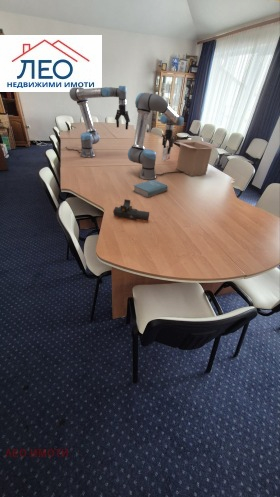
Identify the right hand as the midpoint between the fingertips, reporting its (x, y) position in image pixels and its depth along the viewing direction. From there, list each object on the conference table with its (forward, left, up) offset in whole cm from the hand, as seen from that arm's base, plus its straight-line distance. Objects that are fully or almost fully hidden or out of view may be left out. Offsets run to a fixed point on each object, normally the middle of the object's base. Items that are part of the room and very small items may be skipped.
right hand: (166, 153), depth 243 cm
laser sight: (+48, +129, -10) cm, 138 cm away
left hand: (+48, -13, +20) cm, 54 cm away
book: (+29, +84, -10) cm, 89 cm away
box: (-21, +29, -10) cm, 37 cm away
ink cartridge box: (0, 0, -7) cm, 7 cm away
